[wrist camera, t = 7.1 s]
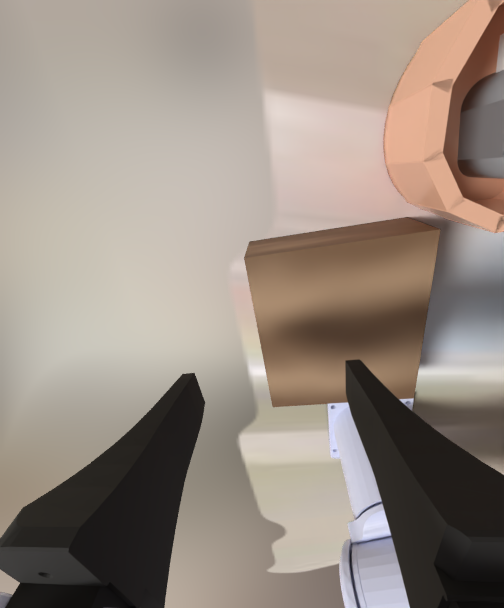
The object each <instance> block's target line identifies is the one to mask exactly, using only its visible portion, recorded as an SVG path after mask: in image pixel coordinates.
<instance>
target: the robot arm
mask: <svg viewBox="0 0 504 608" xmlns="http://www.w3.org/2000/svg"><path fill="white" fill-rule="evenodd" d="M345 373H346V396H347V400H348V402H347V403H330V404H328V422H329V441H330V455H331V457H332V458H340V460H341V464H342V468H343V472H344V477H345V481H346V485H347V490H348V494H349V498H350V502H351V507H352V511H353V515H354V521H351V522H348V528H349V533H350V537H351V539H348V540H346V541H345V542H344V544H343V547H342V553H341V557H340V566H339V570H340V583H341V589H342V595H343V600H344V605H345V608H504V475H503V474H501V473H500V472H498V471H496V470H495V469H493V468H491V467H490V466H488V465H486V464H485V463H483V462H482V461H480V460H478V459H477V458H475V457H474V456H472V455H471V454H469V453H468V452H466V451H465V450H463V449H462V448H460V447H459V446H457V445H456V444H454V443H453V442H451V441H450V440H449V439H447V438H446V437H445V436H443V435H442V434H440V433H439V432H438V431H436V430H435V429H434V428H432V427H431V426H430V425H429V424H427V423H426V422H425V421H424V420H422V419H421V418H420V417H419V416H417V415H416V414H415V413H414V412H413V411H412V408H413V401H414V398H413V399H398V398H397V397H396V396H395V395H394V394H393V393H392V392H391V391H390V390H389V389H388V388H387V387H386V386H384V384H383V383H382V382H381V381H380V380H379V379H378V378H377V377H376V376H375V375H374V374H373V373H372V372H371V371H370V370H369V369H368V368H367V366H366V365H365V364H364V363H363V362H362V361H361V360H360V359H357V360H345ZM204 405H205V401H204V398H203V396H202V393H201V390H200V387H199V385H198V382H197V379H196V376H195V373H190V374H182V376H181V377H180V378H179V379H178V380H177V381H176V382H175V383H174V384H173V386H172V387H171V388H170V389H169V390H168V391H167V392H166V393H165V394H164V396H163V397H162V398H161V399H160V400H159V401H158V402H157V403H156V404H155V406H154V407H153V408H152V409H151V410H150V411H149V412H148V413H147V414H146V415H145V416H144V417H143V418H142V419H141V420H140V421H139V422H138V423H137V424H136V425H135V426H134V427H133V428H132V429H131V430H130V431H129V432H127V433H126V434H125V435H124V436H123V437H122V438H121V439H120V440H118V442H116V443H115V444H114V445H113V446H111V447H110V448H109V449H108V450H106V451H105V452H104V453H103V454H101V455H100V456H99V457H98V458H96V459H95V460H94V461H92V462H91V463H90V464H89V465H87V466H86V467H84V468H83V469H82V470H80V471H79V472H78V473H76V474H75V475H73V476H72V477H70V478H69V479H68V480H66V481H65V482H63V483H62V484H60V485H59V486H57V487H56V488H54V489H53V490H51V491H49V492H48V493H46V494H44V495H43V496H41V497H40V498H38V499H37V500H35V501H33V502H32V503H30V504H28V505H27V506H25V507H23V509H22V510H21V511H20V512H19V514H18V515H17V517H16V518H15V519H14V521H13V522H12V523H11V525H10V526H9V527H8V529H7V530H6V532H5V533H4V534H3V536H2V537H1V538H0V569H1V570H2V571H4V572H5V573H6V574H8V575H9V576H11V577H12V578H14V579H15V580H17V581H18V582H20V584H19V586H18V588H17V589H16V591H15V593H14V594H13V595H11V594H8V593H3V592H0V608H164V605H165V596H166V589H167V582H168V574H169V567H170V559H171V553H172V547H173V541H174V535H175V529H176V523H177V517H178V512H179V506H180V501H181V496H182V492H183V487H184V482H185V478H186V474H187V470H188V467H189V464H190V460H191V457H192V454H193V450H194V447H195V443H196V440H197V437H198V433H199V430H200V427H201V423H202V418H203V412H204ZM333 405H334V406H333Z"/></svg>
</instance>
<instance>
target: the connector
mask: <svg viewBox="0 0 504 608" xmlns="http://www.w3.org/2000/svg"><path fill="white" fill-rule="evenodd" d="M457 164H458V168H459V170H460V172H461V173H462V174H463V175H465V176H467V177H474V178H500V179H504V34H502V35H500V39H499V48H498V58H497V67H496V72H494V73H492V74H490V75H488V76H485V77H484V78H482V79H480V80H479V81H478V82H477V83H475V84H474V85H473V86H472V88H471V89H470V90H469V91H468V93H467V94H466V96H465V98H464V100H463V103H462V106H461V112H460V127H459V142H458V158H457Z"/></svg>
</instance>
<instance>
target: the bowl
mask: <svg viewBox="0 0 504 608" xmlns="http://www.w3.org/2000/svg"><path fill="white" fill-rule="evenodd" d="M502 34H504V0H468V1H467V2H466V3H465V4H463V5H462V6H461V7H460V8H459V9H458V10H457V11H456V12H455V13H453V14H452V15H451V16H450V17H449V18H448V19H447V20H445V21H444V22H443V23H442V24H441V25H440V26H439V27H438V28H437V29H436V30H435V31H433V32H432V33H431V34H430V35H429V36H428V37H427V38H425V39H424V40H423V41H422V42H421V45H420V47H419V49H418V51H417V52H416V54H415V55H414V57H413V58H412V60H411V61H410V63H409V64H408V66H407V67H406V69H405V71H404V73H403V75H402V76H401V78H400V80H399V82H398V85H397V87H396V89H395V91H394V94H393V96H392V99H391V103H390V106H389V109H388V113H387V117H386V122H385V129H384V157H385V163H386V167H387V171H388V174H389V176H390V178H391V181H392V183H393V184H394V186H395V187H396V189H397V190H398V192H399V193H400V194H401V195H402V196H403V197H404V198H405V200H406V202H407V203H410V204H412V205H414V206H416V207H418V208H420V209H423V210H425V211H428V212H431V213H433V214H436V215H438V216H440V217H443V218H444V219H448V220H451V221H455V222H458V223H462V224H465V225H469V226H473V227H476V228H480V229H483V230H487V231H490V232H494V233H498V232H504V179H500V178H474V177H467V176H465V175H463V174H462V173H461V172H460V170H459V168H458V164H457V158H458V142H459V127H460V112H461V106H462V103H463V100H464V98H465V96H466V94H467V93H468V91H469V90H470V89H471V88H472V86H473V85H474V84H475V83H477V82H478V81H479V80H480V79H482V78H484V77H485V76H488V75H490V74H492V73H494V72H496V67H497V58H498V48H499V39H500V35H502Z"/></svg>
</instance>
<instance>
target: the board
mask: <svg viewBox="0 0 504 608" xmlns="http://www.w3.org/2000/svg"><path fill="white" fill-rule="evenodd" d="M440 230H441V229H438V228H435V227H433V226H430V225H427V224H424V223H421V222H419V221H416V220H413V219H410V218H407V217H406V218H399V219H393V220H386V221H380V222H373V223H367V224H361V225H354V226H348V227H341V228H335V229H328V230H322V231H316V232H309V233H303V234H296V235H290V236H283V237H277V238H270V239H264V240H258V241H251V242H249V245H248V248H247V251H246V254H245V257H244V260H245V265H246V270H247V275H248V281H249V286H250V291H251V296H252V301H253V307H254V312H255V317H256V322H257V327H258V333H259V338H260V343H261V348H262V354H263V359H264V364H265V369H266V374H267V380H268V385H269V390H270V395H271V401H272V406H273V407H281V406H298V405H314V404H330V403H347V402H348V400H347V396H346V373H345V360H357V359H360V360H361V361H362V362H363V363H364V364H365V365H366V366H367V368H368V369H369V370H370V371H371V372H372V373H373V374H374V375H375V376H376V377H377V378H378V379H379V380H380V381H381V382H382V383H383V384H384V386H386V387H387V388H388V389H389V390H390V391H391V392H392V393H393V394H394V395H395V396H396V397H397V398H398V399H413V398H414V394H415V388H416V381H417V375H418V369H419V362H420V356H421V350H422V343H423V337H424V331H425V325H426V318H427V312H428V306H429V299H430V293H431V287H432V280H433V274H434V268H435V261H436V255H437V249H438V242H439V236H440Z"/></svg>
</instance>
